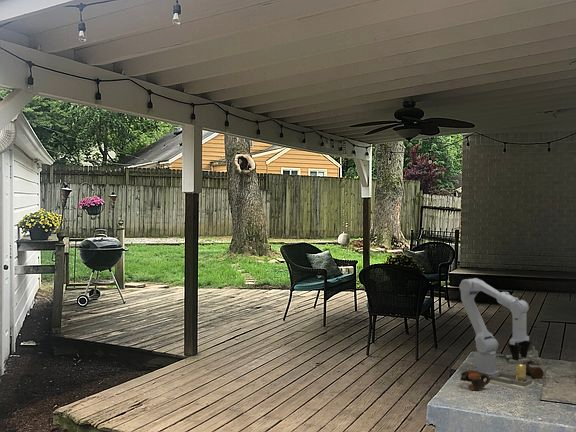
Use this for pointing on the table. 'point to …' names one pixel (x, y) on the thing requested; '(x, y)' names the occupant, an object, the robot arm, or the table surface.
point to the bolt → (534, 371)
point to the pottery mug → (475, 379)
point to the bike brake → (530, 357)
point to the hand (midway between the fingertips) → (519, 358)
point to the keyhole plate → (510, 381)
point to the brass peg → (520, 372)
